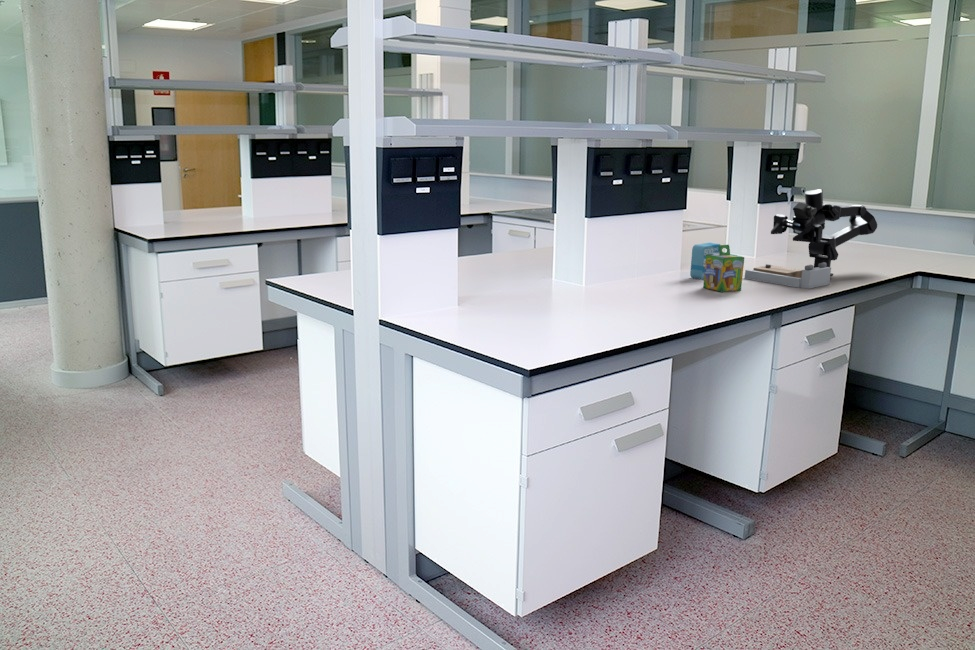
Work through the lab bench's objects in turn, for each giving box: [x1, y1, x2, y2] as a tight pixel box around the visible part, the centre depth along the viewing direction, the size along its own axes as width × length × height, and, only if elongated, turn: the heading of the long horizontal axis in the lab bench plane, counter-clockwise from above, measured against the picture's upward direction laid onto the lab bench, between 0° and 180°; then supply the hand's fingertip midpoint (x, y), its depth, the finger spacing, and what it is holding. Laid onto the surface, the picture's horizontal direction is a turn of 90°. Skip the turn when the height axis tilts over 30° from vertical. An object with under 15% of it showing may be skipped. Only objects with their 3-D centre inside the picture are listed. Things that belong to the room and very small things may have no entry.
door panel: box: [753, 263, 803, 278], centre depth 286 cm, size 11×13×5 cm
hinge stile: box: [799, 262, 832, 289], centre depth 274 cm, size 14×3×8 cm, turn 130°
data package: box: [689, 242, 721, 280], centre depth 285 cm, size 12×4×12 cm, turn 132°
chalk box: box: [702, 244, 745, 293], centre depth 264 cm, size 9×9×15 cm
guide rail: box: [744, 269, 801, 289], centre depth 279 cm, size 2×21×3 cm, turn 40°
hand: (781, 236), depth 279 cm, fingers open, 9 cm apart
